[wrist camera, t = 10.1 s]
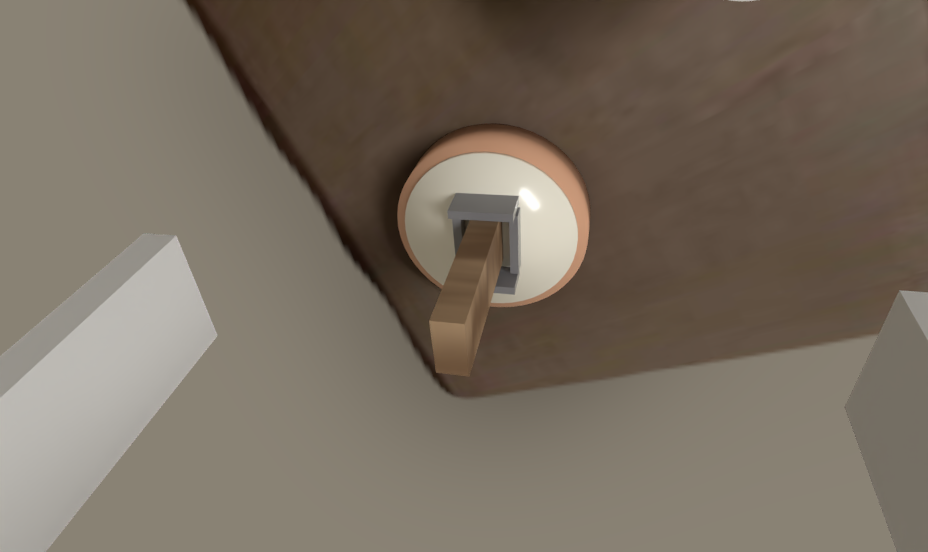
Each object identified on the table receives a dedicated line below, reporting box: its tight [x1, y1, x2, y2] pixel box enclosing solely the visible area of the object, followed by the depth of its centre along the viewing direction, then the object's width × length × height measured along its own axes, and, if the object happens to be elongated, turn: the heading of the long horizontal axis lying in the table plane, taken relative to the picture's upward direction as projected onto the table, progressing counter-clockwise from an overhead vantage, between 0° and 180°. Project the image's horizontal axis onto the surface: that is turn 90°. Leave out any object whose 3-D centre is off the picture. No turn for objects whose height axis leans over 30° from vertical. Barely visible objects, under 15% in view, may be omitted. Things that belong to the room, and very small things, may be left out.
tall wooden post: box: [429, 220, 503, 376], centre depth 39 cm, size 4×2×12 cm, turn 4°
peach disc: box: [397, 124, 590, 307], centre depth 44 cm, size 14×14×6 cm
